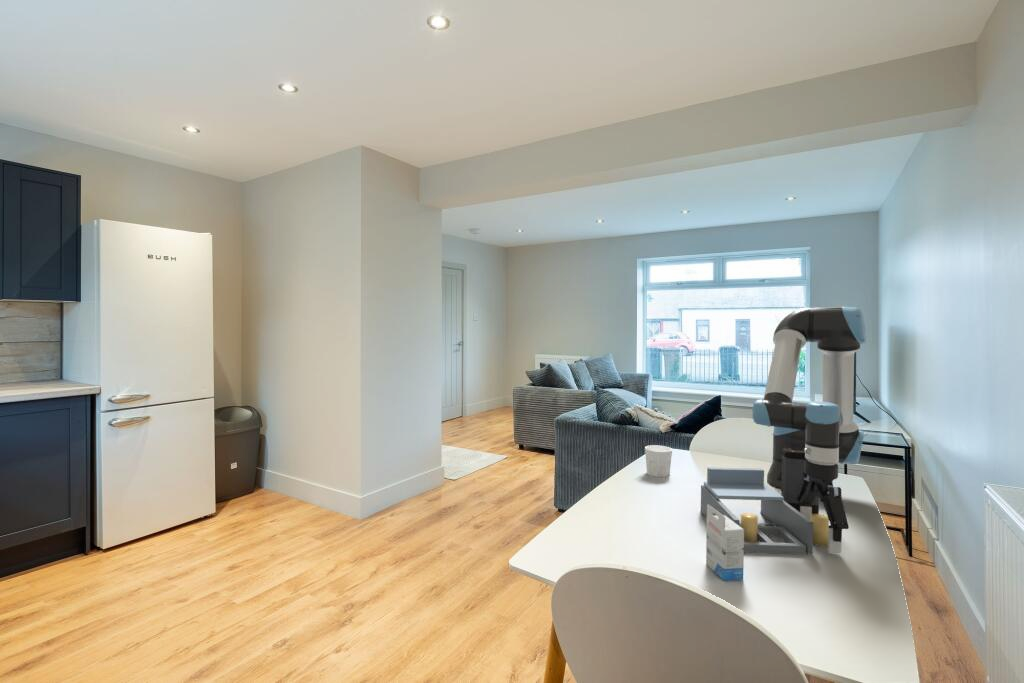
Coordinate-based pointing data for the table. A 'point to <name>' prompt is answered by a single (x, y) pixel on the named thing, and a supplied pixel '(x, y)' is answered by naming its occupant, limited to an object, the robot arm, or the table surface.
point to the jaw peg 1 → (749, 527)
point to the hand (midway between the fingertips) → (819, 540)
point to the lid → (739, 484)
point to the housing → (786, 522)
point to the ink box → (724, 546)
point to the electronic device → (794, 478)
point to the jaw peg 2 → (820, 529)
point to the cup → (658, 460)
